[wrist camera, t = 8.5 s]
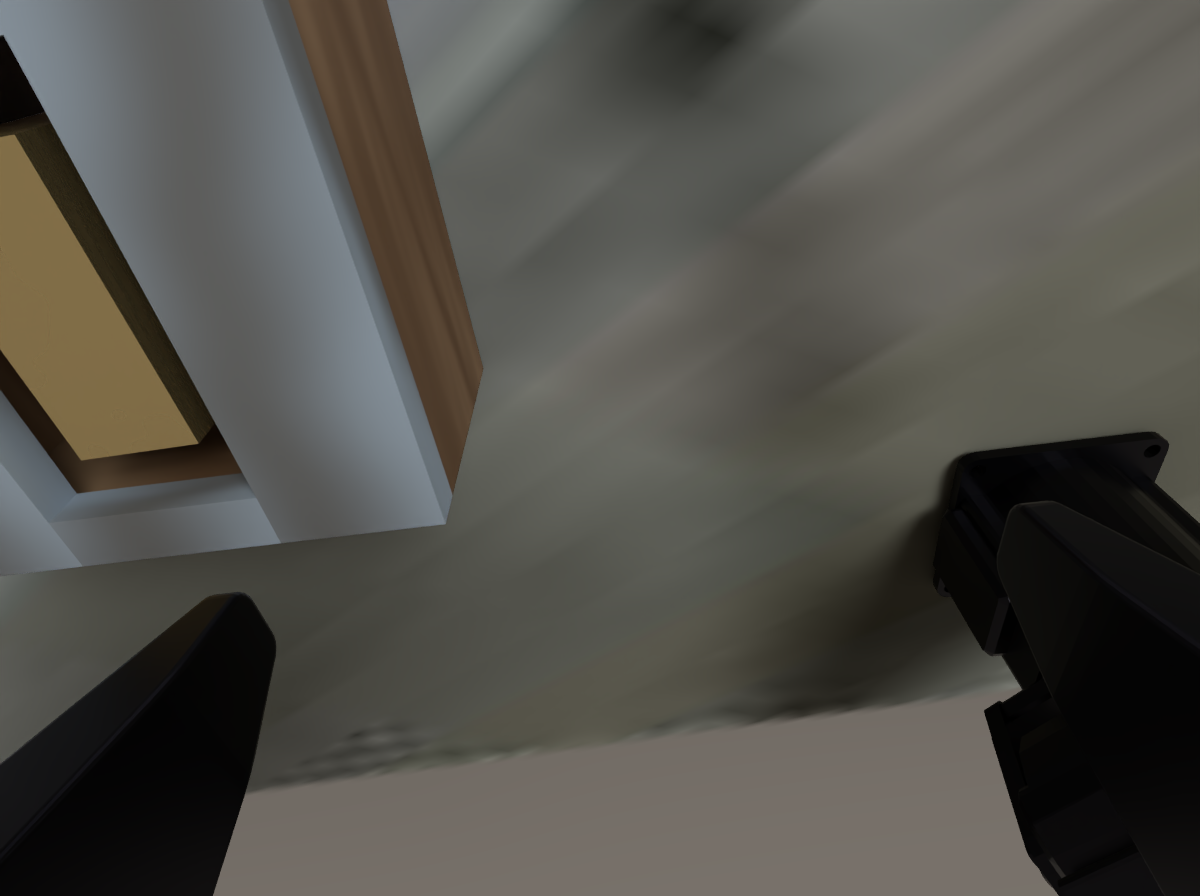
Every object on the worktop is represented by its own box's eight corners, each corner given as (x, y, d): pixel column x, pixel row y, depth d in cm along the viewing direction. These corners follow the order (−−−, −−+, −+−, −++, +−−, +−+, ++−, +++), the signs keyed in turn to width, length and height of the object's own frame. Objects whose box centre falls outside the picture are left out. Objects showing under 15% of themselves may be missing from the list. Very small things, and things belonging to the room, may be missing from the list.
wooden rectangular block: (201, 78, 16) (14, 134, 11) (302, 313, 20) (198, 443, 14) (97, 97, 16) (-136, 161, 11) (215, 327, 20) (81, 460, 14)
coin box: (361, -93, 14) (215, -132, 9) (483, 368, 21) (445, 524, 15) (-171, -2, 15) (-634, 20, 9) (103, 418, 21) (-72, 584, 16)
